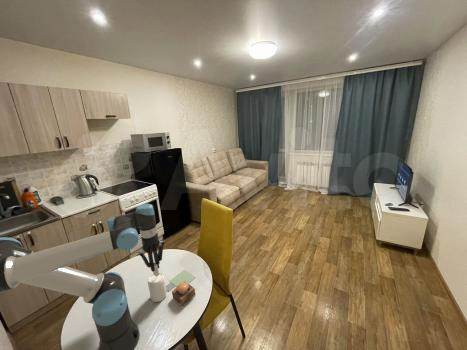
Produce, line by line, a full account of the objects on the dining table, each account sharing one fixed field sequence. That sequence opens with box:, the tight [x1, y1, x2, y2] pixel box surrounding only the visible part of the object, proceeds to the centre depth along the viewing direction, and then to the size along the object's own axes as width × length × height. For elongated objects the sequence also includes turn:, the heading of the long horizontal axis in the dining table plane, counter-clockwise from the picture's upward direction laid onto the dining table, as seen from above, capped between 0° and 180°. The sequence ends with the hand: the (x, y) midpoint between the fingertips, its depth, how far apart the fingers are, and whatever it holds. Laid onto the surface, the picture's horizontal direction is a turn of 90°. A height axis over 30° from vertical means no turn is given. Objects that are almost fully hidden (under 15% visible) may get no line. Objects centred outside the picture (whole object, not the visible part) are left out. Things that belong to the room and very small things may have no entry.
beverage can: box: [147, 272, 168, 303], centre depth 103 cm, size 8×8×12 cm
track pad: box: [166, 282, 176, 293], centre depth 110 cm, size 4×4×1 cm
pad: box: [169, 269, 197, 288], centre depth 115 cm, size 11×11×1 cm
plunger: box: [176, 282, 190, 296], centre depth 103 cm, size 6×6×6 cm
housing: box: [171, 281, 196, 307], centre depth 103 cm, size 8×8×4 cm
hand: (156, 274), depth 101 cm, fingers closed
